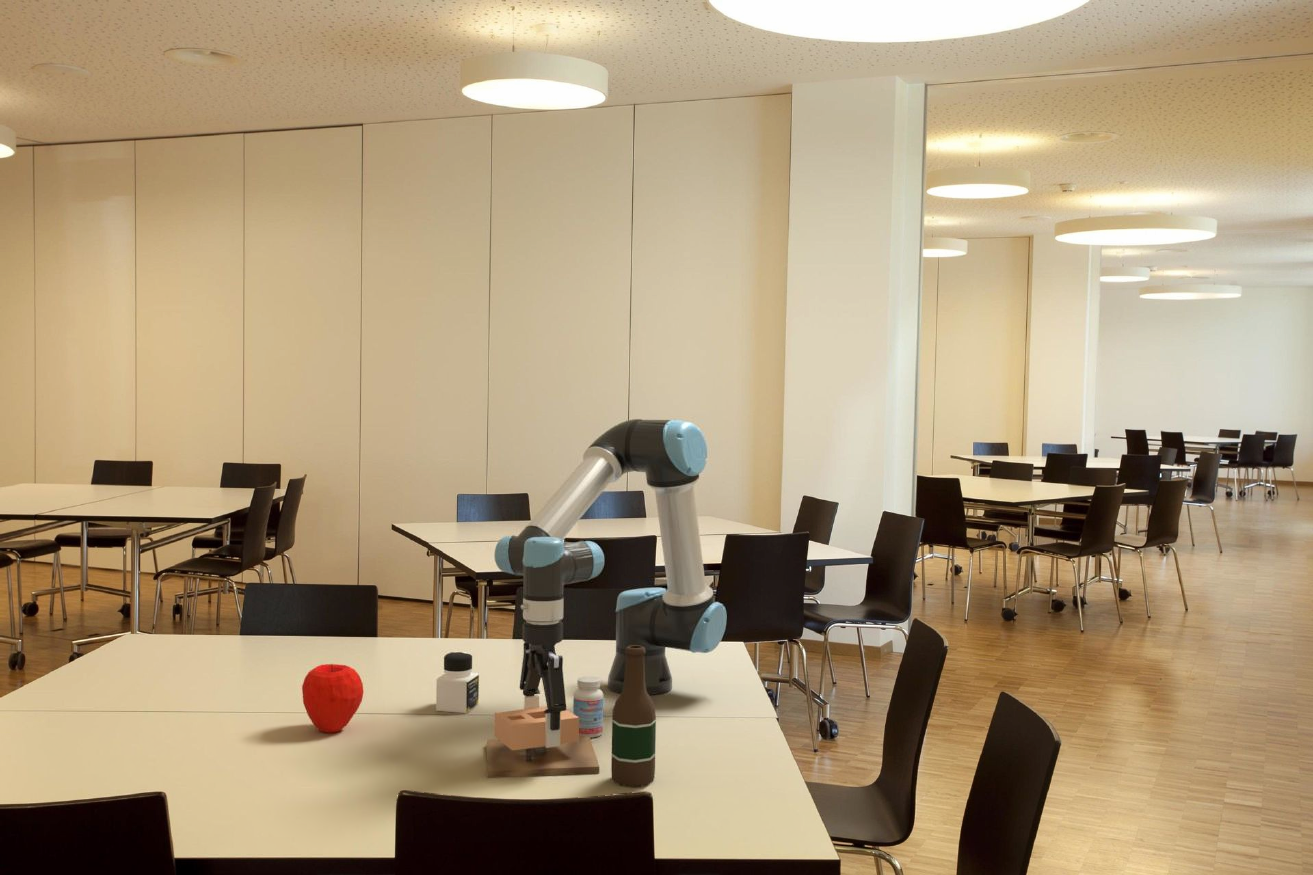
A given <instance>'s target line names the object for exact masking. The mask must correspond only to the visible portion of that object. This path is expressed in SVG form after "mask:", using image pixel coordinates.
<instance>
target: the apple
mask: <svg viewBox="0 0 1313 875" xmlns="http://www.w3.org/2000/svg"><path fill="white" fill-rule="evenodd" d="M301 690H302V692H301V693H302V701H303V706H304V709H305V711H306V714H307V716H308V718H309V720H310V721H311V723H312V725H313V726H314V727H315V728H316V729H317V730H318V731H320V732H322V733H329V734H333V733H338V732H339V731H340V732H341V731H342V730H343V729H344V728H345V727H347V725H348V724H349V723H350V721H351V720H352V718H353V717H354V715H355V714H356V712H358V710H359V707H360V705H361V704H362V701H363V697H364V693H365V692H364V684H363V681H362V679H361V676H360V674H359V672H357V671H356V669H354V668H353V667H350V666H349V665H346V664H345V665H344V664H337V663H329V664H328V663H327V664H319V665H317V666H315V667H314V668H312V669H311V670H309V671H308V673H307V674H306V676H305V677H304V678H303V683H302V685H301Z"/></svg>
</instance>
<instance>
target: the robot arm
mask: <svg viewBox="0 0 1313 875" xmlns="http://www.w3.org/2000/svg"><path fill="white" fill-rule="evenodd" d="M707 447H708V445H707V442H706V438H705V436H704V434H703V432H702V430H701V429H700V427H698V426H696V424H695V423H692V422H690V421H684V420H679V419H639V418H638V419H637V418H635V419H634V418H633V419H630V420H629V419H628V420H625V421H622V422H620V423H618V424H617V425H614V426H612V427H610V428H609V429H608V430H606V431H605V432H603V434H601V435H599V437H598V438H596V439H595V440H594V441H593V442H592V443H591V444H590V446H588V448H587V449H586V450H585V451H584V452H583V454H582V461H581V462H580V464H579V465H578V466H577V467H576V468H575V469H574V471H573V472H572V473H571V474H570V475H569V477H567V478H566V480H565V481H564V482H563V484H562V485H561V486H560V487H558V489H557V490H556V492H554V494H553V495H552V496H551V497H550V498H549V499H548V500H547V501H546V503H545V504H544V505H543V507H542V508H541V509H540V510H539V511H538V512H537V513H536V514H535V515H534V517H532V519H531V520H530V521H529V523H528V524H526V526H525V527H524V529H523V530H522V531H521V532H520V533H519V534H518V535H514V534H513V535H506V536H503V537H501V538H500V540H499V541H498V542H497V544H496V546H495V548H494V549H495V550H494V562H495V564H496V567H497V568H498V569H499V570H500V571H502V572H504V573H508V574H511V575H515V576H523V581H522V582H523V593H522V596H523V597H522V604H521V605H520V609H521V610H522V618H523V620H524V621H523V623H522V641H523V655H522V656H523V657H522V664H521V665H522V666H521V671H520V672H521V673H520V680H519V689H520V691H522V695H523V697H524V699H523V700H524V702H523V703H524V704H523V708H524V709H533V708H540V701H539V700H540V696H539V694H541V691H540V689H539V687H540V683H541V681H542V686H543V690H544V697H545V702H546V707H547V709H546V710H545V711H544V713H545V747H546V748H550V747H557V746H560V732H561V711H566V710H567V700H566V693H565V692H566V690H565V681H564V680H565V679H564V670H563V663H564V658H563V655H557V653H556V648H555V646H556V645H557V644H559V643H560V642H562V641H563V639H564V622H562V620H563V618H564V612H565V611H564V602H565V598H564V585H565V586H566V585H570V584H574V583H575V584H576V583H579V582H587V581H589V580H592V579H594V578H596V577H598V576H599V575H600V574H601V573H602V571H603V569H604V566H605V554H604V552H603V549H602V548H601V547H600V546H599V545H598V543H596V542H594V541H590V540H585V541H584V540H579V541H577V542H570V541H569V542H568V541H563V540H564V539H565V537H566V536H567V535H568V534H569V532H571V530H572V529H573V528H574V527H575V525H576V524H577V523H578V522H579V521H580V519H581V518H582V517H583V516H584V515H585V513H586V512H587V511H588V509H590V507H591V506H592V505H593V504H594V502H595V501H596V500H597V499H598V498H599V496H600V495H601V494H602V493H603V491H605V490H606V488H607V487H608V486H609V484H610V483H611V484H612V483H615V482H617V481H618V480H619V479H620V478H622V476H623V475H624V474H627V473H630V472H638V473H645V478H646V485H647V486H648V487H650V488H651V489H652V490H654V493H655V494H654V496H655V500H656V501H655V502H656V507H657V508H656V509H657V516H658V524H659V531H660V538H661V546H662V554H663V561H664V568H665V577H666V585H667V589H666V588H665V587H664V588H663V587H643V588H642V587H641V588H636V589H634V588H633V589H629V590H624V591H621V592H620V593H619V594H618V596H617V600H616V609H615V613H616V614H615V617H616V622H615V623H616V624H615V655H614V659H613V662H612V665H611V667H610V670H609V674H608V677H607V687H608V689H609V690H611V691H612V692H615V693H619V694H621V693H622V691H623V686H624V677H625V664H626V653H624V652H625V649H626V647H628V646H630V645H640V646H642V647H645V651H646V653H645V654H644V664H645V684H646V690H647V693H648V694H649V696H650V695H658V694H663V693H666V692H669V691H670V690H672V689H673V676H672V673H671V669H670V666H669V663H668V660H667V656H666V648H667V649H668V648H669V649H673V650H680V651H685V652H686V651H687V652H691V653H693V654H696V653H699V654H700V653H701V654H709V653H711V652H713V651H714V650H715V649H717V647H718V646H719V644H720V643H721V641H722V640H723V636H724V634H725V631H726V626H727V621H728V620H727V614H728V613H727V610H726V606H724V604H723V603H720V602H719V601H715V598H714V597H715V596H714V590H713V588H712V587H710V586H709V585H708V584H706V578H705V569H704V568H705V567H704V563H703V562H704V560H703V552H702V546H701V545H702V544H701V536H700V529H699V521H698V514H697V513H698V511H697V505H696V497H695V487H694V486H695V485H696V483H697V482H698V481H699V480H700V474H702V472H703V471H704V469H705V467H706V464H707V460H706V459H707V458H708V448H707ZM524 709H523V710H524Z"/></svg>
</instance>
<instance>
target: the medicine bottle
mask: <svg viewBox="0 0 1313 875" xmlns="http://www.w3.org/2000/svg"><path fill="white" fill-rule="evenodd" d="M479 678H480V676H479V673H478V672H473V655H472V654H471V653H469V652H466V651H452V652H449V653H447V654H445V655H444V657H443V674H442V675H440V676H438V678H436V682H435V684H436V688H435V690H436V691H435V692H436V693H435V694H436V696H435V697H436V700H435V701H436V702H435V703H436V704H435V710H436V712H445V713H454V714H455V713H458V714H467V713H469V712H470V711H472V710H473V709H475V708H476V707H477V706H478V705H479V693H480V692H479V690H480V688H479V686H480V683H479V682H480V679H479Z"/></svg>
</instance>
